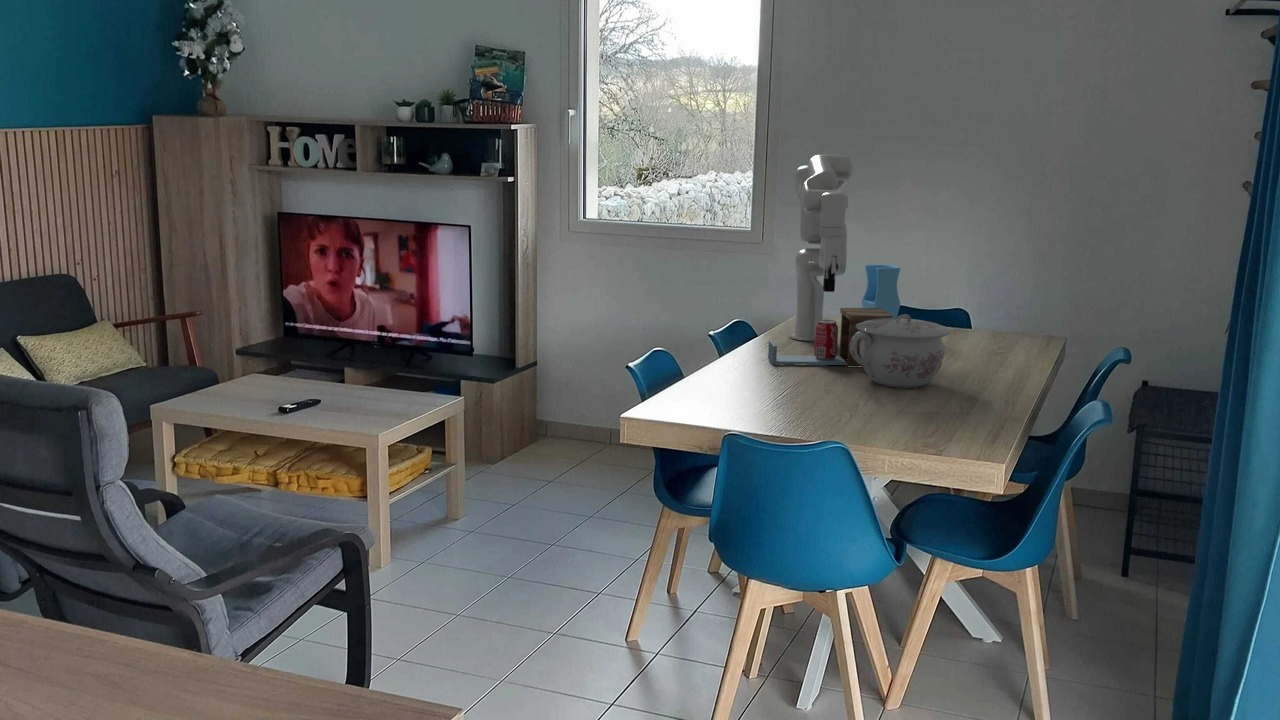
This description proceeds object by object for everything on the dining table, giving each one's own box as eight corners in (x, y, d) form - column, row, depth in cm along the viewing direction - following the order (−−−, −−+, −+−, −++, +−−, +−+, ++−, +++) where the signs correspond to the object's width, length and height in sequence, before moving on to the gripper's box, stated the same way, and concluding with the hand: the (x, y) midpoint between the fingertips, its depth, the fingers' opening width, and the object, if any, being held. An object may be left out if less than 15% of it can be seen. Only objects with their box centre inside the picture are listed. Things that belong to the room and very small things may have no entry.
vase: (859, 333, 414) (864, 264, 409) (884, 332, 417) (888, 264, 411) (873, 338, 405) (877, 268, 399) (897, 337, 408) (902, 267, 402)
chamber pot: (947, 377, 347) (953, 309, 343) (946, 397, 321) (952, 325, 317) (854, 369, 354) (858, 303, 350) (845, 389, 328) (849, 318, 324)
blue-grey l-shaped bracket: (768, 359, 366) (768, 340, 365) (838, 359, 368) (840, 341, 366) (772, 365, 357) (773, 346, 356) (845, 365, 359) (846, 346, 358)
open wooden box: (837, 358, 370) (840, 307, 367) (877, 358, 371) (880, 308, 367) (847, 367, 356) (851, 315, 353) (888, 368, 357) (892, 315, 354)
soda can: (835, 356, 366) (837, 319, 364) (837, 361, 359) (839, 323, 357) (813, 355, 367) (815, 318, 364) (814, 360, 360) (816, 322, 357)
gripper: (814, 229, 361) (811, 287, 365) (825, 234, 347) (822, 294, 350) (838, 230, 362) (835, 287, 366) (849, 235, 347) (846, 295, 351)
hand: (828, 291), depth 358 cm, fingers closed
